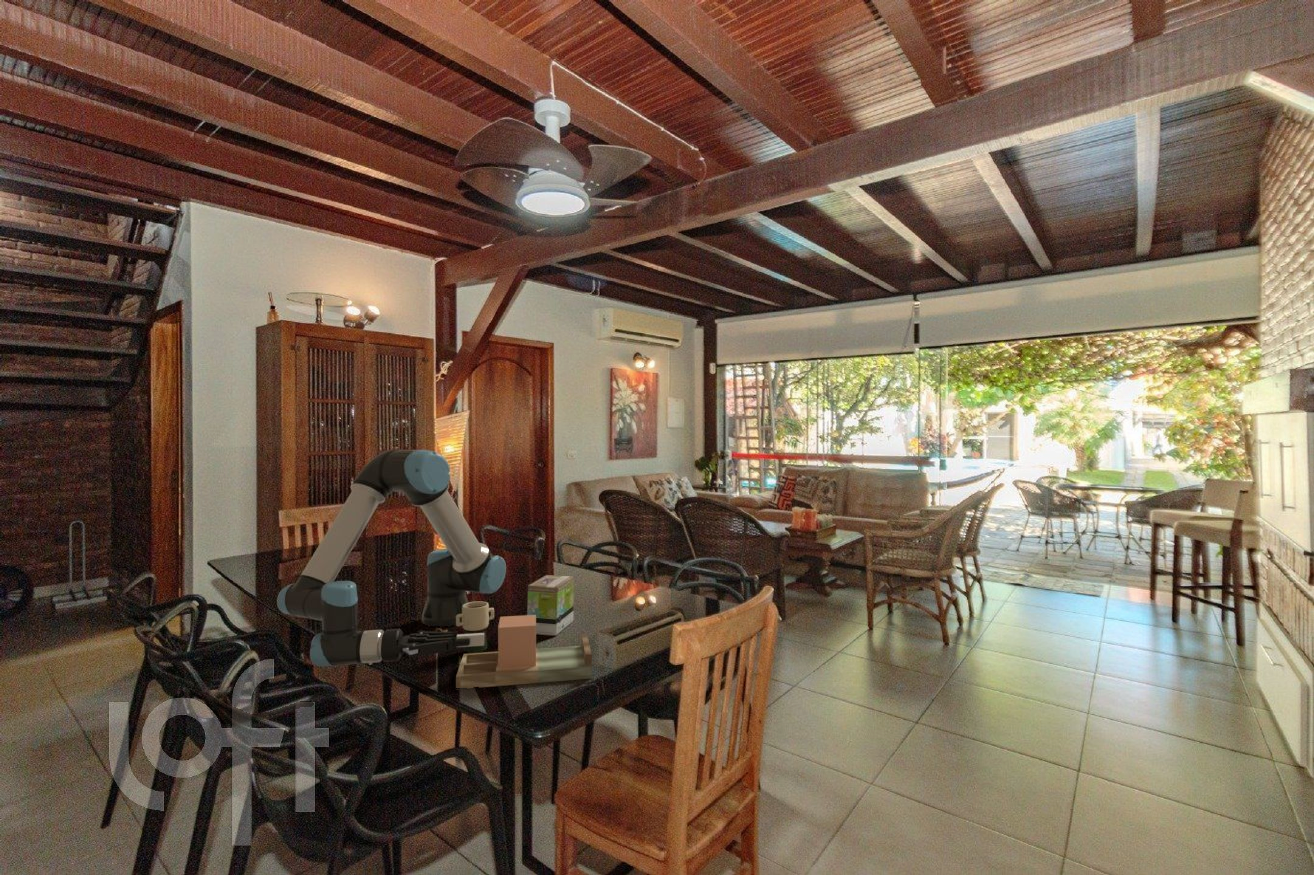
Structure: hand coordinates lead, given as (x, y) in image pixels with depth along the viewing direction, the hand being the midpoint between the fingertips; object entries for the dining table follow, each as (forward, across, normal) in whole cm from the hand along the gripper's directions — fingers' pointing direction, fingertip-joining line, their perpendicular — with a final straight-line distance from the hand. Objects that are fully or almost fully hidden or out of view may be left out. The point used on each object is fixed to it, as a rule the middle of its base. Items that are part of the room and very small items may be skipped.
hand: (484, 639), depth 151 cm
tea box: (+17, -35, -9) cm, 40 cm away
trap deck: (+10, 0, -9) cm, 14 cm away
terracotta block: (+8, 0, -6) cm, 10 cm away
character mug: (-4, -18, -9) cm, 20 cm away
